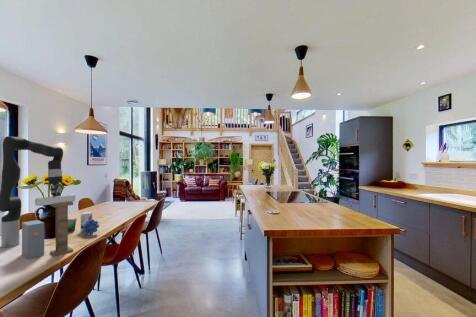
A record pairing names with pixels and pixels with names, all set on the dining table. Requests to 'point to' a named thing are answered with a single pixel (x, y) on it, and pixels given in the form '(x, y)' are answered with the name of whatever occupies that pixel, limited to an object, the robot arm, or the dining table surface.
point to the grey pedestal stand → (61, 229)
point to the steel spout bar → (54, 200)
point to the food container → (71, 224)
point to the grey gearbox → (32, 239)
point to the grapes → (90, 227)
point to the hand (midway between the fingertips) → (56, 200)
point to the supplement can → (85, 218)
